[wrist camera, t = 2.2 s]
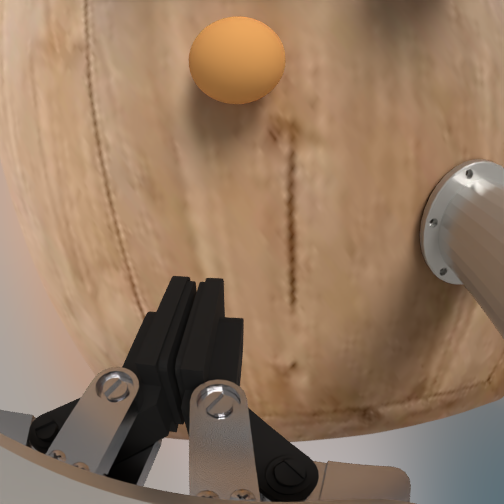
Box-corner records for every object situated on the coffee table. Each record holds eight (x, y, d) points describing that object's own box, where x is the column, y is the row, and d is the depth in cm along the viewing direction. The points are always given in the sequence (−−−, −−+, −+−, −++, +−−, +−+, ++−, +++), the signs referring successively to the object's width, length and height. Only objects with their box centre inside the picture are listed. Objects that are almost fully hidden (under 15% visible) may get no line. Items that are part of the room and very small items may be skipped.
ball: (283, 28, 18) (289, 6, 13) (281, 104, 21) (286, 107, 15) (200, 29, 18) (179, 9, 13) (199, 103, 21) (177, 106, 16)
